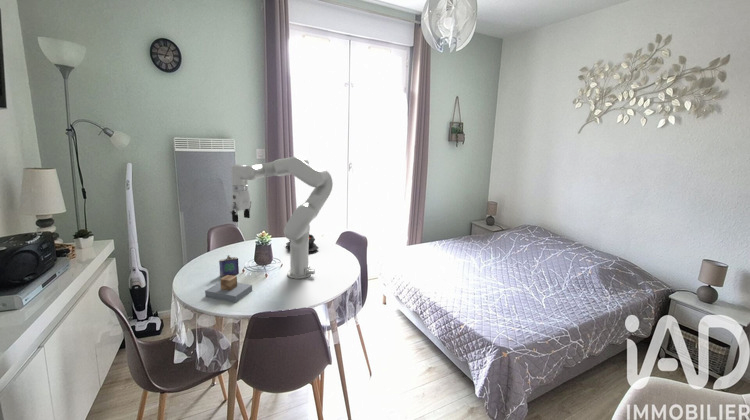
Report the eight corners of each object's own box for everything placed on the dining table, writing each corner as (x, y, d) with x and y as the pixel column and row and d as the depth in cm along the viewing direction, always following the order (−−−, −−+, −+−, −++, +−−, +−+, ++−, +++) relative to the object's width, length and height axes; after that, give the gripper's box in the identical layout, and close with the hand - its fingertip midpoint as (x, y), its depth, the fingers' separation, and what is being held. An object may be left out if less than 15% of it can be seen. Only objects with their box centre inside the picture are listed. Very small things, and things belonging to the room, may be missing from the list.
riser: (252, 290, 154) (252, 284, 154) (235, 302, 143) (235, 296, 142) (223, 285, 158) (223, 280, 157) (205, 296, 147) (205, 290, 146)
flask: (220, 277, 167) (219, 257, 165) (219, 275, 170) (218, 255, 168) (239, 274, 172) (238, 255, 170) (238, 272, 174) (237, 253, 172)
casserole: (325, 250, 216) (325, 238, 214) (302, 256, 202) (302, 243, 200) (301, 241, 231) (301, 230, 230) (279, 247, 217) (279, 235, 216)
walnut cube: (237, 286, 152) (236, 276, 151) (230, 290, 147) (229, 280, 146) (228, 284, 153) (227, 274, 152) (220, 289, 148) (220, 279, 147)
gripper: (235, 191, 160) (237, 224, 164) (256, 186, 176) (256, 217, 180) (222, 189, 162) (224, 222, 165) (244, 185, 178) (245, 215, 182)
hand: (241, 219), depth 173 cm, fingers open, 9 cm apart
